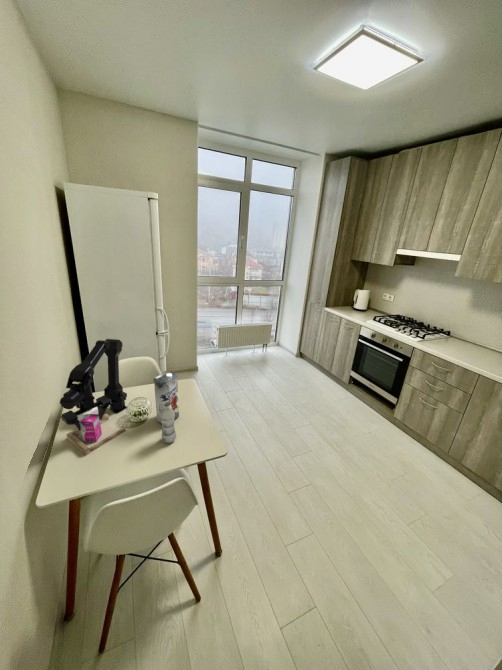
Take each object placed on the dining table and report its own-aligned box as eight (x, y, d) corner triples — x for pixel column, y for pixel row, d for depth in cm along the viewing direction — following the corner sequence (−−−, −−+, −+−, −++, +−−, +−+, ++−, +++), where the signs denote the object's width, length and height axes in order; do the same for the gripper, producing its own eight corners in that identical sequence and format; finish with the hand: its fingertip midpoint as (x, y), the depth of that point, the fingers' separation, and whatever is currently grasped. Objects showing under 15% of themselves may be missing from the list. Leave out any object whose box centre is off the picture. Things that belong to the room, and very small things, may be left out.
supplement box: (83, 442, 119) (78, 421, 115) (89, 433, 124) (85, 413, 120) (96, 442, 119) (92, 421, 115) (102, 433, 125) (99, 413, 121)
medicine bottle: (101, 419, 134) (97, 399, 130) (87, 427, 128) (83, 406, 124) (91, 414, 137) (88, 394, 133) (78, 422, 131) (74, 402, 127)
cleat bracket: (107, 418, 135) (106, 413, 134) (126, 431, 127) (125, 426, 126) (67, 439, 120) (66, 434, 119) (86, 455, 112) (85, 449, 111)
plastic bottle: (179, 437, 125) (177, 401, 118) (170, 447, 119) (168, 410, 112) (167, 433, 127) (165, 398, 120) (158, 443, 121) (155, 406, 114)
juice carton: (154, 422, 134) (150, 376, 125) (167, 411, 143) (165, 367, 134) (168, 428, 131) (165, 380, 122) (181, 416, 140) (179, 371, 131)
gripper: (96, 380, 125) (100, 408, 131) (51, 398, 110) (58, 428, 116) (109, 388, 120) (114, 416, 125) (64, 408, 105) (71, 439, 110)
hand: (90, 424), depth 119 cm, fingers open, 9 cm apart
